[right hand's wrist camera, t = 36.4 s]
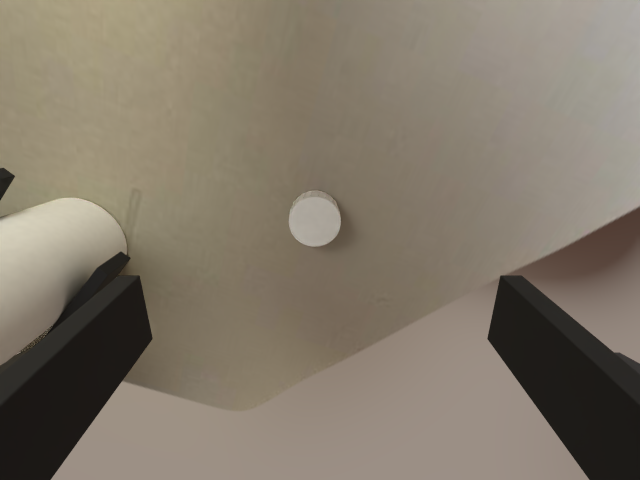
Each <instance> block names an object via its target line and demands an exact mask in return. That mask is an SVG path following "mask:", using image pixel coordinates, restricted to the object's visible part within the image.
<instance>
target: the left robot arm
mask: <svg viewBox="0 0 640 480" xmlns="http://www.w3.org/2000/svg"><path fill="white" fill-rule="evenodd" d="M14 177H15V176H14V175H13V174H11V173H10V172H9V171H7V170H6V169H4V168H0V200H1V198H2V197H3V195H4V193H5V192H6V190H7V189H8V187H9V185H10V184H11V182H12V180H13V179H14ZM129 260H130V257H128V256H127V255H126V254H124V253H123V252H119V253H118V254H116V255H115V256H113V257H112V258H110V259H109V260H107V261H106V262H105V263H103V264H102V265H100V266H99V267H97V268H96V270H95V271H94V272H93V274H92V275H91V276H90V278H89V279H88V280H87V282H86V283H85V284H84V286H83V287H82V288H81V290H80V291H79V292H78V294H77V295H76V296H75V298H74V299H73V300H72V302H71V303H70V304H69V306H68V307H67V308H66V310H65V311H64V312H63V314H62V315H61V316H60V317H59V319H58V320H57V321H56V323H55V324H54V325H53V327H52V328H51V329H50V331H49V332H48V333H47V335H48V334H49V333H50V332H51V331H53V330H54V329H55V328H56V327H57V326H59V325H60V324H61V323H62V322H63V321H65V320H66V319H67V318H68V317H69V316H71V315H72V314H73V313H74V312H75V311H77V310H78V309H79V308H80V307H81V306H83V305H84V304H85V303H86V302H87V301H89V300H90V299H91V298H92V297H93V296H95V295H96V294H97V293H98V292H99V291H101V290H102V289H103V288H104V287H105V286H107V285H108V284H109V283H110V282H111V281H113V280H114V279H115V278H116V276H117V275H118V274H119V273H120V271H121V270H122V269H123V267H124V266H125V265H126V264H127V262H128V261H129ZM47 335H46V336H47ZM30 349H31V348H29V349H27V350H25V351H23V352H21V353H19V354H17V355H15V356H13V357H12V358H10V359H9V360H11V359H13V358H14V357H16V356H18V355H20V354H25V353H26V352H27V351H29V350H30ZM9 360H8V361H9Z"/></svg>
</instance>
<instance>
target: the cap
mask: <svg viewBox="0 0 640 480" xmlns="http://www.w3.org/2000/svg"><path fill="white" fill-rule="evenodd" d="M289 214H290V216H289V220H288V221H289V227H290V230H291V233H292V234H293V236H294V237H295V238H296V239H297V240H298V241H299V242H301V243H302V244H304V245H307V246H312V247H317V246H323V245H325V244H327V243H329V242H331V241H332V240H333V239H334V238H335V237H336V235H337V234H338V232H339V229H340V225H341V217H340V210H339V207H338V206H337V203H336V201H335V200H334V199H333V198H332V196H330V195H328V194H327V193H326V192H322V191H319V190H318V191H315V190H314V191H312V190H311V191H308V192H304V193H303V194H301V195H300V196H298V198H297V199H296V200H295V201H294V202H293V205H292V207H291V209H290V213H289Z"/></svg>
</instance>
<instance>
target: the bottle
mask: <svg viewBox="0 0 640 480" xmlns="http://www.w3.org/2000/svg"><path fill="white" fill-rule="evenodd" d="M119 252H123V253H124V254H126V255H127V243H126V239H125V236H124V233H123V231H122V229H121V227H120V226H119V224H118V223H117V221H116V220H115V219H114V218H113V217H112V216H111V215H110V214H109V213H108V212H107V211H105V210H104V209H103V208H101V207H100V206H98V205H96V204H94V203H92V202H89V201H86V200H83V199H78V198H61V199H56V200H53V201H50V202H47V203H44V204H40V205H37V206H34V207H31V208H28V209H25V210H21V211H18V212H15V213H12V214H9V215H6V216H2V217H0V365H2V364H4V363H5V362H7V361H8V360H9V359H10V358H12V357H13V356H14V355H16V354H17V353H18V352H19V351H21V350H22V349H23V348H24V347H26V346H27V345H28V344H30V343H31V342H32V341H33V340H35V339H36V338H37V337H38V336H40V335H41V334H42V333H43V332H45V331H46V330H47V329H49V328H50V327H51V326H52V325H54V324H55V323H56V321H57V320H58V319H59V317H60V316H61V315H62V314H63V312H64V311H65V310H66V308H67V307H68V306H69V304H70V303H71V302H72V300H73V299H74V298H75V296H76V295H77V294H78V292H79V291H80V290H81V288H82V287H83V286H84V284H85V283H86V282H87V280H88V279H89V278H90V276H91V275H92V274H93V272H94V271H95V270H96V268H97V267H99V266H100V265H102V264H103V263H105V262H106V261H107V260H109V259H110V258H112V257H113V256H115V255H116V254H118V253H119Z"/></svg>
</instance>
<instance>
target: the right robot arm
mask: <svg viewBox="0 0 640 480" xmlns="http://www.w3.org/2000/svg"><path fill="white" fill-rule="evenodd" d="M151 340H152V334H151V329H150V324H149V319H148V315H147V310H146V305H145V300H144V295H143V290H142V285H141V281H140V276H117V277H116V278H115V279H114V280H113V281H111V282H110V283H109V284H108V285H107V286H105V287H104V288H103V289H102V290H101V291H99V292H98V293H97V294H96V295H95V296H93V297H92V298H91V299H90V300H89V301H87V302H86V303H85V304H84V305H83V306H81V307H80V308H79V309H78V310H77V311H75V312H74V313H73V314H72V315H71V316H69V317H68V318H67V319H66V320H65V321H63V322H62V323H61V324H60V325H59V326H57V327H56V328H55V329H54V330H53V331H51V332H50V333H49V334H48V335H47V336H45V337H44V338H43V339H42V340H41V341H39V342H38V343H37V344H36V345H35V346H33V347H32V348H31V349H30V350H29V351H27V352H26V353H25V354H20V355H18V356H16V357H14V358H13V359H11V360H9V361H7V362H5V363H4V364H2V365H0V480H51V478H52V477H53V475H54V474H55V473H56V471H57V470H58V469H59V467H60V466H61V464H62V463H63V462H64V460H65V459H66V458H67V456H68V455H69V453H70V452H71V451H72V449H73V448H74V447H75V445H76V444H77V442H78V441H79V440H80V438H81V437H82V435H83V434H84V433H85V431H86V430H87V429H88V427H89V426H90V424H91V423H92V422H93V420H94V419H95V417H96V416H97V415H98V413H99V412H100V411H101V409H102V408H103V406H104V405H105V404H106V402H107V401H108V400H109V398H110V397H111V395H112V394H113V393H114V391H115V390H116V388H117V387H118V386H119V384H120V383H121V382H122V380H123V379H124V377H125V376H126V375H127V373H128V372H129V371H130V369H131V368H132V366H133V365H134V364H135V362H136V361H137V360H138V358H139V357H140V355H141V354H142V353H143V351H144V350H145V348H146V347H147V346H148V344H149V343H150V342H151ZM488 340H489V342H490V343H491V344H492V346H493V347H494V348H495V350H496V351H497V353H498V354H499V355H500V357H501V358H502V360H503V361H504V362H505V364H506V365H507V366H508V368H509V369H510V370H511V372H512V373H513V375H514V376H515V377H516V379H517V380H518V382H519V383H520V384H521V386H522V387H523V389H524V390H525V391H526V393H527V394H528V395H529V397H530V398H531V399H532V401H533V402H534V404H535V405H536V406H537V408H538V409H539V411H540V412H541V413H542V415H543V416H544V418H545V419H546V420H547V422H548V423H549V424H550V426H551V427H552V429H553V430H554V431H555V433H556V434H557V435H558V437H559V438H560V440H561V441H562V442H563V444H564V445H565V447H566V448H567V449H568V451H569V452H570V453H571V455H572V456H573V457H574V459H575V460H576V462H577V463H578V464H579V466H580V467H581V469H582V470H583V471H584V473H585V474H586V475H587V477H588V478H589V480H640V364H639V363H637V362H635V361H634V360H632V359H630V358H628V357H626V356H625V355H623V354H621V353H614V352H613V351H611V350H610V349H609V348H608V347H607V346H605V345H604V344H603V343H602V342H601V341H599V340H598V339H597V338H596V337H595V336H593V335H592V334H591V333H590V332H589V331H587V330H586V329H585V328H584V327H583V326H581V325H580V324H579V323H578V322H577V321H575V320H574V319H573V318H572V317H571V316H569V315H568V314H567V313H566V312H565V311H563V310H562V309H561V308H560V307H559V306H557V305H556V304H555V303H554V302H553V301H551V300H550V299H549V298H548V297H547V296H545V295H544V294H543V293H542V292H541V291H539V290H538V289H537V288H536V287H535V286H533V285H532V284H531V283H530V282H529V281H527V280H526V279H525V278H524V277H523V276H500V281H499V286H498V290H497V295H496V300H495V305H494V310H493V315H492V319H491V324H490V329H489V334H488Z"/></svg>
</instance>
